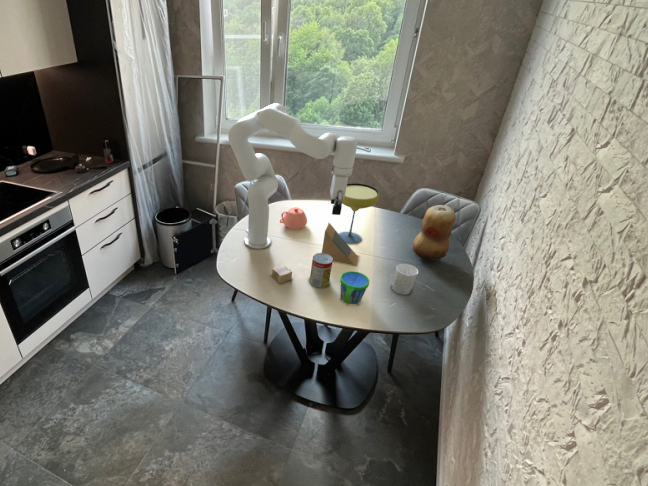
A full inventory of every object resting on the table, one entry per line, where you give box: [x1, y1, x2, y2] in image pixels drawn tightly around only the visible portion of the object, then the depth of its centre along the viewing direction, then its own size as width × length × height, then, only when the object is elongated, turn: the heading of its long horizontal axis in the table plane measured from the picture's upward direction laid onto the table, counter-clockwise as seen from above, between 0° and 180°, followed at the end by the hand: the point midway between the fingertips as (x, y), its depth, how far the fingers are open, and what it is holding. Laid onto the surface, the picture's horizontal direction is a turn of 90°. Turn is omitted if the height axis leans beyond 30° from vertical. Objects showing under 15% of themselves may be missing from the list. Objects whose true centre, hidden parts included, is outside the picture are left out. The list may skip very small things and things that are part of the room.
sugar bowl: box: [279, 206, 308, 230], centre depth 206 cm, size 12×14×10 cm
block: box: [271, 264, 293, 284], centre depth 171 cm, size 6×6×4 cm
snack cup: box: [339, 270, 370, 305], centre depth 155 cm, size 16×10×10 cm
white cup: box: [391, 263, 419, 296], centre depth 159 cm, size 8×8×10 cm
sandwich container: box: [321, 222, 359, 266], centre depth 178 cm, size 9×15×15 cm, turn 64°
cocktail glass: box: [338, 183, 380, 245], centre depth 189 cm, size 18×18×25 cm
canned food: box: [309, 252, 333, 288], centre depth 165 cm, size 8×8×12 cm
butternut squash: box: [412, 204, 457, 261], centre depth 172 cm, size 14×13×25 cm
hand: (335, 209), depth 165 cm, fingers open, 9 cm apart
